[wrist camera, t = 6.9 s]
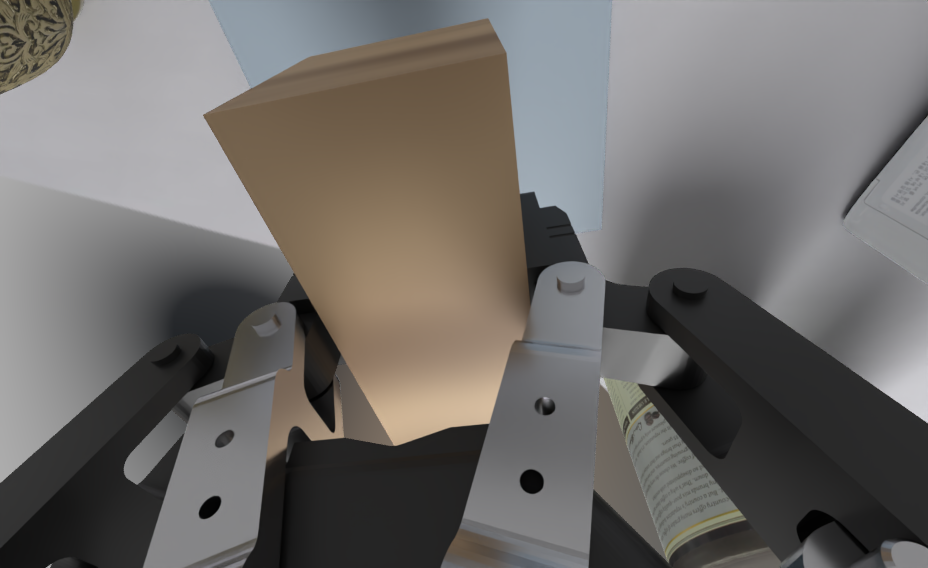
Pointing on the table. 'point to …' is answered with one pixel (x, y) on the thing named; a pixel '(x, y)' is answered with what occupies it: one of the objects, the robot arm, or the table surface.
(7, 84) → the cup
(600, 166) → the base board
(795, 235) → the table surface
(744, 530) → the coffee can
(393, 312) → the flange bar
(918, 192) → the photo printer
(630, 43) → the table surface
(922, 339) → the table surface
